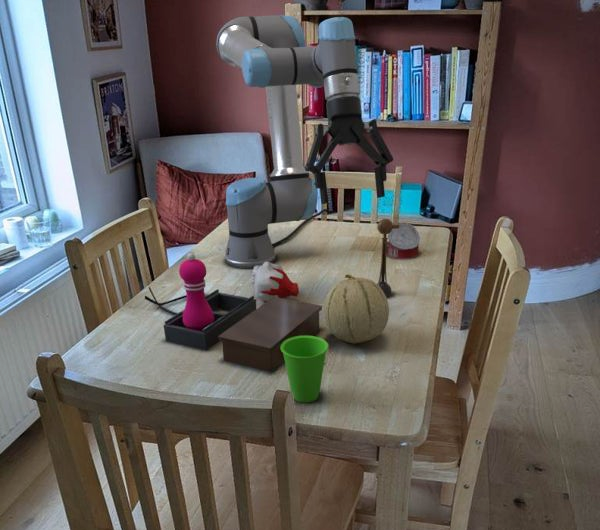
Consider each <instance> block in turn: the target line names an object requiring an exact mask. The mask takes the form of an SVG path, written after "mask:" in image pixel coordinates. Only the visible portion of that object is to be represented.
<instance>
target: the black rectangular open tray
mask: <svg viewBox="0 0 600 530" xmlns="http://www.w3.org/2000/svg"><path fill="white" fill-rule="evenodd" d="M205 298H206V300H207V302H208V304H209V306H210V307H211V309H212V311H213V315H214V322H213V323H212V324H210V325H209V326H207V327H206V328H204V329H203V330H202V331H203V332H202V331H197V330H193V329H188V328H187V327H186V326H185V325H184V323H183V312H184V309H182V310H181V311H180V312H177V314H176V315H173V316H171V317H170V318H168V319H166V320H165V321H164V324H163V331H164V338H165V342H169V343H173V344H177V345H182V346H185V347H191V348H195V349H199V350H203V351H208V350H209V349H211V348H213V346H214V345H216V344H218V343H220V341H219V340H218V336H219V335H221V334H222V333H224V332H225V331H226V330H228V329H229V328H231V327H232V326H233V325H235V324H236V323H238V322H239V321H240V320H242V319H243V318H245V317H246V316H247V315H249V314H250V313H252V312H253V311H255V310H256V309H257V299H256V298H255V296H254V295H252V296H250V297H245V296H241V295H235V294H231V293H223V292H220V289H215V290H214V291H212V292H210V293H209V294H207V295H205ZM219 310H224V311H225V310H226V311H228V312H226V313H223V312H219Z"/></svg>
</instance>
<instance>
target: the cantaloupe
mask: <svg viewBox="0 0 600 530" xmlns="http://www.w3.org/2000/svg"><path fill="white" fill-rule="evenodd" d="M344 278H346V279H344V280H341V281H338V282H337V283H336V284H334V285H333V286H332V287H331V288H330V289H329V291H328V292H327V295H326V296H325V300H324V303H323V317H324V321H325V324H326V326H327V327H328V330H329V331H330V332H331V334H332V335H333V336H335V337H336V338H337V339H339V340H341V341H343V342H345V343H349V344H355V345H356V344H362V343H364V342H368V341H371V340H373V339H375V338H376V337H378V336H379V335H380V334H382V333H383V331H384V330H385V328H386V326H387V324H388V321H389V316H390V306H389V302H388V299H387V298H388V297H387V298H386V296H385V294H384V292H383V291H382V289H381V288H380V287H379V286H378V285H377V284H378V283H376V282H375V281H374V280H372V279H370V278H365V277H355V276H353V274H348V273H347V274H345V276H344Z"/></svg>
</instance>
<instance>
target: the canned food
mask: <svg viewBox="0 0 600 530" xmlns="http://www.w3.org/2000/svg"><path fill="white" fill-rule="evenodd" d="M397 224H399V229H392V231H391V232H390V233H389V234H387V238H388V239H387V254H386V257H389V258H392V259H398V260H399V259H400V260H405V259H406V260H407V259H413V258H416V257H417V256H418V255H419V246H420V243H421V242H420V241H421V237H420V234H419V232H418V230H417V229H416V227H415V226H414V225H413V224H411V223H408V222H399V223H397Z"/></svg>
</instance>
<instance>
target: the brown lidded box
mask: <svg viewBox="0 0 600 530" xmlns="http://www.w3.org/2000/svg"><path fill="white" fill-rule="evenodd" d="M322 310H323V305H320V304H316V303H309V302H306V301H305V302H304V301H300V300H295V299H288V298H277V297H273V298H271V299H270V300H269V301H267V302H264V303H263V304H261V305H260V306H258V307H256V310H255V311H253V312H252V313H250V314H249V315H247V316H246V317H245V318H243V319H242V320H240V321H239V322H238V323H236V324H235V325H233V326H232V327H231V328H229V329H228V330H226V331H225V332H224V333H222V334H221V335H219V336H218V340H219V342H221V347H222V358H223V361H224V362H228V363H232V364H235V365H236V364H237V365H240V366H245V367H249V368H254V369H256V370H257V369H258V370H262V371H265V372H271V373H272V372H273V371H274V370H275V369H276V368H278V367H279V366H280V365H281V364H282V363H283V362H285V359H284V355H283V352H282V351H281V349H280V348H281V344H282V343H283V342H284V341H285V340H287V339H289V338H292V337H296V336H314V335H315V334H316V333H317V332H318V331H320V312H321V311H322Z"/></svg>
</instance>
